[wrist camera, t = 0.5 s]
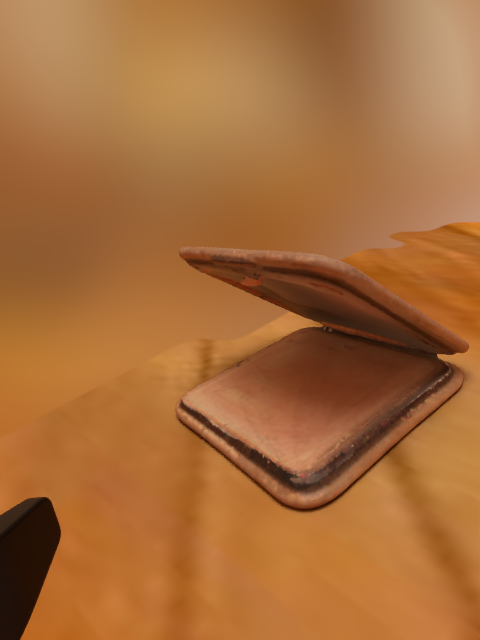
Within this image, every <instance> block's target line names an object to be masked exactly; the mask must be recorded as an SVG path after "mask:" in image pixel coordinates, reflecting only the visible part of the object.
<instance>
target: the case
mask: <svg viewBox="0 0 480 640" xmlns="http://www.w3.org/2000/svg"><path fill="white" fill-rule="evenodd" d="M179 255H180V257H181V258H183V259H184V260H185V261H186V262H187V263H188V264H189V265H190V266H192V267H193V268H195V269H196V270H198V271H200V272H202V273H206V274H208V275H210V276H212V277H214V278H217V279H219V280H221V281H224V282H226V283H228V284H230V285H232V286H234V287H237V288H239V289H241V290H244V291H245V292H248V293H251V294H253V295H254V296H257V297H260V298H261V299H263V300H266V301H268V302H270V303H273V304H275V305H277V306H280V307H282V308H284V309H286V310H289V311H291V312H293V313H295V314H298V315H300V316H302V317H305V318H308V319H311V320H313V321H317V322H320V323H321V324H323V325H324V326H323V327H308V328H303V329H300V330H298V331H295V332H293V333H291V334H289V335H287V336H286V337H284V338H282V339H280V340H279V341H277V342H275V343H273V344H271V345H270V346H268V347H266V348H265V349H263V350H261V351H259V352H257V353H255V354H254V355H252V356H250V357H248V358H246V359H245V360H243V361H241V362H239V363H237V364H236V365H234V366H232V367H230V368H229V369H227V370H225V371H223V372H221V373H220V374H218V375H216V376H214V377H213V378H211V379H209V380H207V381H205V382H203V383H202V384H200V385H198V386H197V387H195V388H193V389H191V390H189V391H188V392H187V393H186V394H185V395H184V396H183V397H182V398H181V399H180V400H179V401H178V403H177V405H176V408H175V411H176V414H177V416H178V418H179V419H180V420H181V421H182V422H183V423H185V424H186V425H187V426H188V427H190V428H191V429H192V430H194V431H195V432H196V433H197V434H199V435H200V436H201V437H203V438H204V439H206V440H207V441H208V442H209V443H210V444H212V445H213V446H214V447H215V448H217V449H218V450H219V451H221V452H222V453H223V454H224V455H225V456H227V457H228V458H229V459H230V460H231V461H232V462H233V463H235V464H236V465H237V466H238V467H240V468H241V469H242V470H243V471H244V472H246V473H247V474H248V475H249V476H250V477H252V478H253V479H254V480H255V481H256V482H257V483H259V484H260V485H261V486H262V487H263V488H264V489H266V490H267V491H268V492H269V493H270V494H271V495H273V496H274V497H275V498H276V499H278V500H279V501H281V502H282V503H284V504H286V505H288V506H291V507H294V508H301V509H309V508H315V507H318V506H321V505H323V504H325V503H327V502H329V501H331V500H332V499H334V498H335V497H337V496H338V495H339V494H341V493H342V492H343V491H344V490H345V489H346V488H347V487H348V486H349V485H350V484H352V483H353V482H354V481H355V480H356V479H357V478H359V477H360V476H361V475H362V474H363V473H364V472H365V471H366V470H367V469H368V468H370V467H371V466H372V465H373V464H374V463H375V462H376V461H377V460H378V459H379V458H380V457H382V456H383V455H384V454H385V453H386V452H387V451H388V450H389V449H390V448H391V447H392V446H394V445H395V444H396V443H397V442H398V441H399V440H400V439H401V438H402V437H404V436H405V435H406V434H407V433H408V432H409V431H411V430H412V429H413V428H414V427H415V426H416V425H417V424H419V423H420V422H421V421H422V420H424V419H425V418H426V417H427V416H428V415H430V414H431V413H432V412H433V411H434V410H435V409H437V408H438V407H439V406H440V405H441V404H442V403H444V402H445V401H446V400H447V399H448V398H449V397H450V396H452V395H453V394H454V393H455V392H456V391H457V390H458V389H459V388H460V387H461V385H462V383H463V380H464V377H463V373H462V372H461V370H460V369H459V368H458V367H456V366H455V365H453V364H451V363H448V362H445V361H442V360H441V359H439V358H438V357H437V354H447V355H453V354H455V353H465V352H466V351H468V349H469V345H468V343H467V342H466V341H465V340H463V339H461V338H460V337H459V336H457V335H455V334H454V333H452V332H451V331H449V330H448V329H446V328H445V327H443V326H442V325H440V324H439V323H437V322H436V321H434V320H433V319H431V318H430V317H428V316H427V315H425V314H424V313H422V312H421V311H419V310H418V309H416V308H415V307H413V306H412V305H410V304H409V303H407V302H406V301H404V300H403V299H401V298H400V297H398V296H397V295H395V294H393V293H392V292H390V291H389V290H388V289H386V288H385V287H383V286H382V285H380V284H379V283H377V282H376V281H374V280H373V279H371V278H370V277H368V276H367V275H365V274H364V273H362V272H361V271H359V270H357V269H356V268H354V267H352V266H350V265H348V264H346V263H344V262H342V261H339V260H336V259H333V258H330V257H327V256H322V255H317V254H311V253H298V252H283V251H267V250H243V249H230V248H210V247H184V248H181V249H180V251H179Z"/></svg>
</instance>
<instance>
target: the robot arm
mask: <svg viewBox="0 0 480 640" xmlns="http://www.w3.org/2000/svg"><path fill="white" fill-rule="evenodd" d="M60 537H61V529H60V525H59V522H58V519H57V517H56V514H55V511H54V508H53V505H52V502H51V501H50V499H49V498H46V497H37V498H29V499H26V500H25V501H23V502H21V503H20V504H18V505H16V506H15V507H13V508H12V509H10V510H8V511H7V512H5V513H3V514H2V515H0V640H20V639H21V637H22V635H23V633H24V630H25V628H26V626H27V624H28V622H29V619H30V617H31V614H32V612H33V610H34V607H35V605H36V602H37V599H38V597H39V594H40V592H41V589H42V586H43V584H44V581H45V578H46V576H47V573H48V570H49V568H50V565H51V563H52V560H53V557H54V555H55V552H56V549H57V547H58V544H59V541H60Z"/></svg>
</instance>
